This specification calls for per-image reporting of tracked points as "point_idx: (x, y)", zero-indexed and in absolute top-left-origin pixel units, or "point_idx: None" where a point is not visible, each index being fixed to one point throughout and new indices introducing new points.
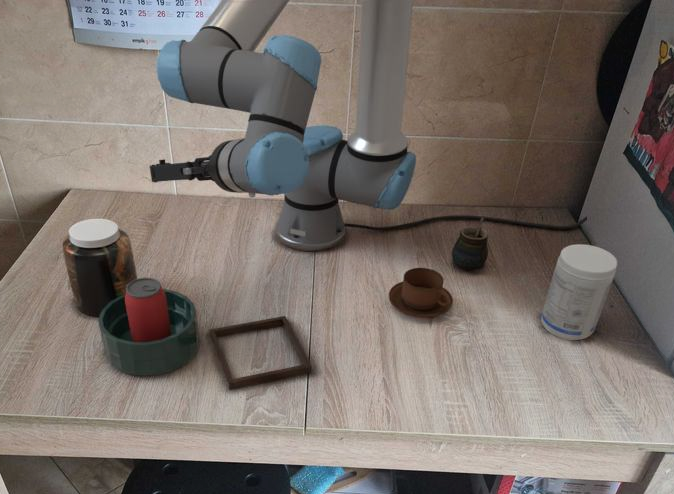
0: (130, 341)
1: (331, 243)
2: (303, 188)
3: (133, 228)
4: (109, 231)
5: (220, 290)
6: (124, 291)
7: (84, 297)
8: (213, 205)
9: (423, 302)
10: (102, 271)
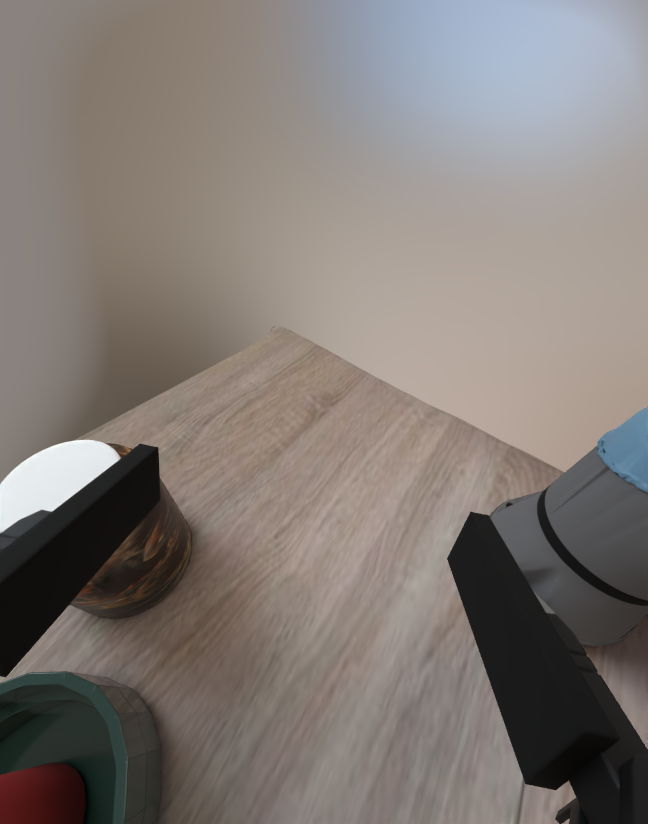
0: (20, 765)
1: (597, 645)
2: (619, 555)
3: (291, 408)
4: None
5: (310, 658)
6: (106, 607)
7: None
8: (411, 413)
9: None
10: None
